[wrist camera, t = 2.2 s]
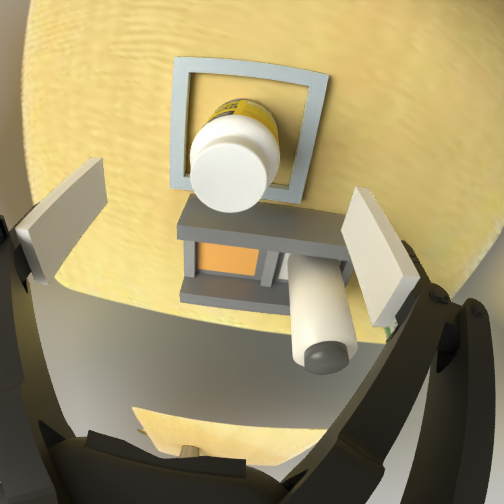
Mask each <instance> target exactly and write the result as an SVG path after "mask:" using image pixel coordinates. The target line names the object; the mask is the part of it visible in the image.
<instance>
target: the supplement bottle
mask: <svg viewBox="0 0 504 504" xmlns="http://www.w3.org/2000/svg"><path fill="white" fill-rule="evenodd" d="M190 165H191V172H190V181H191V185H192V188H193V191H194V193H195V194H196V196H197V197H198V198H199V199H200V201H202V202H203V203H204V204H205V205H207V206H208V207H210V208H212V209H214V210H217V211H220V212H227V213H234V212H241V211H244V210H247V209H249V208H250V207H252V206H254V205H255V204H256V203H257V202H258V201H259V200H260V199H261V198H262V196H263V195H264V193H265V190H266V188H267V187H268V186H269V185H270V184H271V183H272V182H273V180H274V179H275V177H276V175H277V172H278V169H279V165H280V149H279V139H278V129H277V124H276V121H275V118H274V116H273V114H272V113H271V112H270V111H269V109H268V108H267V107H265V106H264V105H263V104H261V103H259V102H257V101H255V100H251V99H245V98H241V99H234V100H231V101H228V102H226V103H225V104H223V105H222V106H220V107H219V108H218V109H217V110H216V111H215V112H214V113H213V115H212V116H211V117H210V118H209V119H208V121H207V122H206V123H205V124H204V126H203V127H202V128H201V130H200V131H199V132H198V134H197V135H196V137H195V139H194V141H193V143H192V146H191V150H190Z"/></svg>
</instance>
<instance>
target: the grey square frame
mask: <svg viewBox="0 0 504 504" xmlns="http://www.w3.org/2000/svg"><path fill="white" fill-rule="evenodd" d="M191 72H197V73H215V74H228V75H239V76H248V77H256V78H264V79H271V80H277V81H284V82H290V83H295V84H301V85H306V86H309V87H308V92H307V98H306V103H305V108H304V113H303V118H302V123H301V128H300V133H299V138H298V143H297V148H296V153H295V158H294V162H293V167H292V172H291V177H290V181H289V186H285V185H279V184H272V183H271V184H270V185H269V186H268V187H267V188H266V190H265V193H264V195H263V196H262V198H261V199H267V200H274V201H281V202H288V203H294V204H300V202H301V198H302V194H303V190H304V186H305V182H306V178H307V173H308V169H309V165H310V161H311V156H312V152H313V148H314V143H315V139H316V134H317V130H318V125H319V121H320V116H321V111H322V107H323V102H324V97H325V92H326V88H327V83H328V78H329V75H327V74H323V73H319V72H314V71H309V70H304V69H299V68H294V67H288V66H282V65H275V64H269V63H261V62H253V61H244V60H234V59H222V58H204V57H174V69H173V84H172V101H171V126H170V188H172V189H182V190H192V191H193V188H192V185H191V181H190V174H187V173H186V144H187V123H188V106H189V92H190V80H191Z"/></svg>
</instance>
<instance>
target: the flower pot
mask: <svg viewBox="0 0 504 504" xmlns="http://www.w3.org/2000/svg"><path fill="white" fill-rule="evenodd" d="M198 456H199V449H198V448H197V447H192V446H186V445H185V446H182V449H181V452H180V456H179V458H186V457H198Z"/></svg>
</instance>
